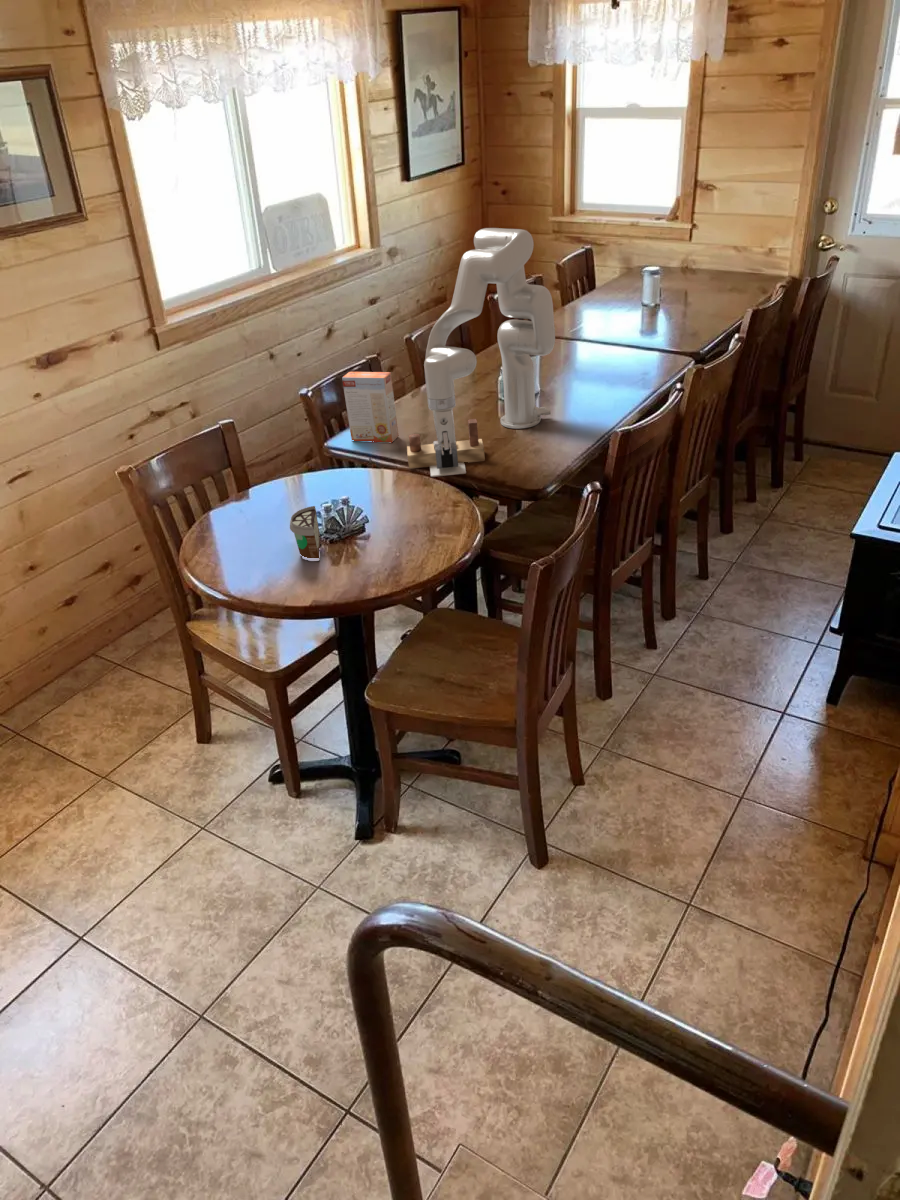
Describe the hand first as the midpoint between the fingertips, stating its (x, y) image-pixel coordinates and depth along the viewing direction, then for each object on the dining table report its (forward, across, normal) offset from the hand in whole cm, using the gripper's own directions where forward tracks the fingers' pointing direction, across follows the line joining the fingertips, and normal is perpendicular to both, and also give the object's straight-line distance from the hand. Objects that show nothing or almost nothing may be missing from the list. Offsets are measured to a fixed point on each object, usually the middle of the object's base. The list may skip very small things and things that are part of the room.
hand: (447, 462), depth 255 cm
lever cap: (0, 0, 0) cm, 0 cm away
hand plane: (+2, +8, 0) cm, 8 cm away
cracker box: (+3, +30, +21) cm, 36 cm away
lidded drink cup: (+3, -41, +37) cm, 56 cm away
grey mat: (+2, 0, 0) cm, 2 cm away
